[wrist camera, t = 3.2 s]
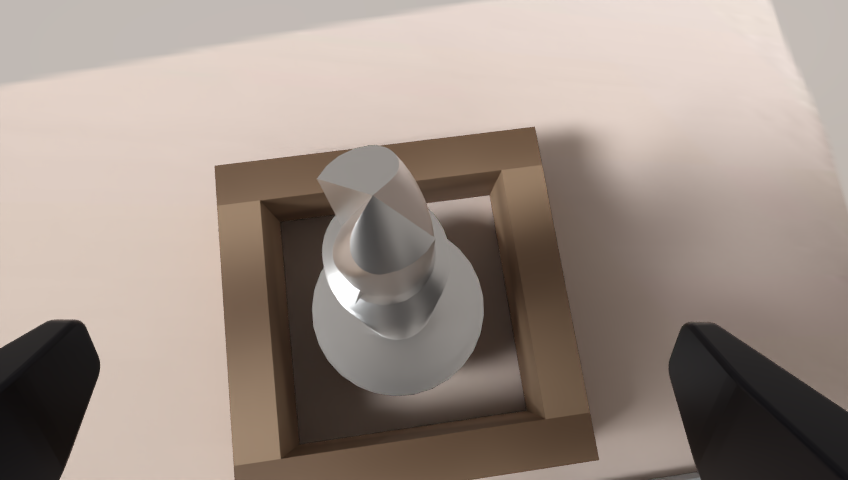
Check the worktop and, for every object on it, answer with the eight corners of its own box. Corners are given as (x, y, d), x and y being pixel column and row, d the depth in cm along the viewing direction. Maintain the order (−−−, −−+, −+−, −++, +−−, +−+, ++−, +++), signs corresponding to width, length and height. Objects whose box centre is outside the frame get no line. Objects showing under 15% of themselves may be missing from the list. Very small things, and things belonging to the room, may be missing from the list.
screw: (368, 214, 18) (500, 280, 18) (295, 346, 17) (432, 419, 17) (273, -114, 6) (719, 91, 5) (-21, 314, 5) (500, 601, 4)
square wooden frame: (571, 445, 17) (599, 459, 14) (263, 492, 16) (237, 515, 14) (518, 157, 19) (534, 127, 16) (240, 191, 18) (214, 165, 16)
